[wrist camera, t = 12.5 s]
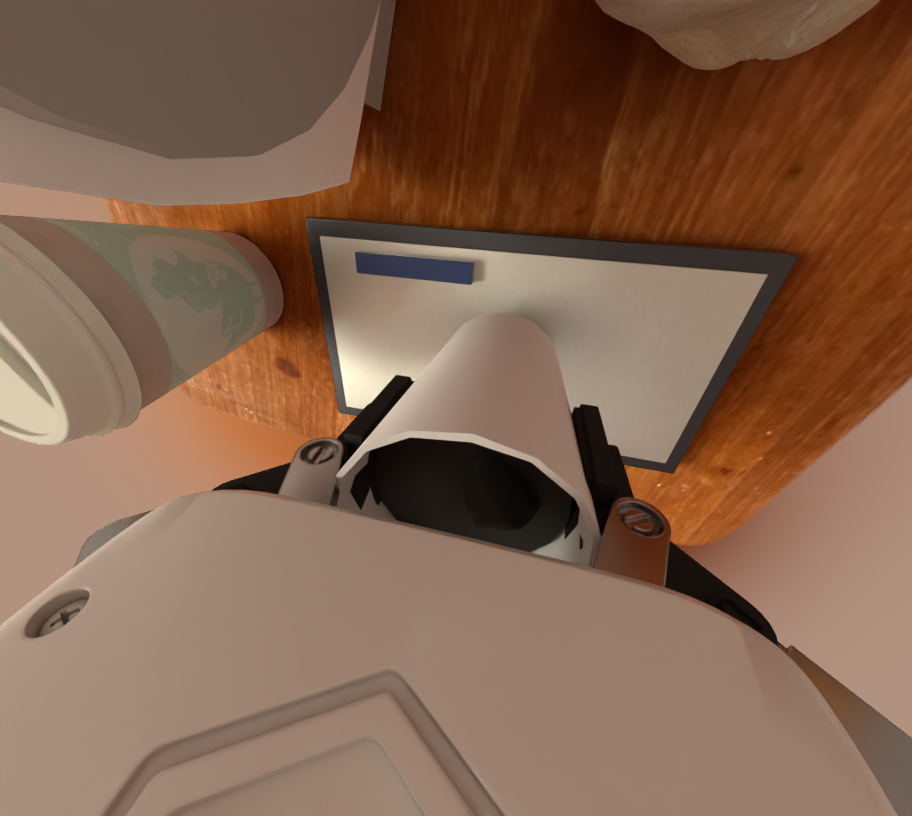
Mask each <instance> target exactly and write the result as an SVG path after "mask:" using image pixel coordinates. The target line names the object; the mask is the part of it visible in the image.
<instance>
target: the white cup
mask: <svg viewBox="0 0 912 816" xmlns="http://www.w3.org/2000/svg"><path fill="white" fill-rule="evenodd" d="M376 448H378V451H377V456H376V461H375V465H374V470H375V478H376V486H377V489H378V492H379V496H380V499H381V502H380V504H379V506H378V505H377V504H376V503H375V501H374V497H373V494H372V491H371V488H370V490H369V492H368V495H367V497H366V500H365V502H364V505H363V507H362V509H361V510H360V508H359V507H358V505H357V503H356V502H355V500H354V498H353V497H352V495H351V493H350V490H351V487H352V484H353V481H354V478H355V475H356V474H357V473H358V472H359V471H360V470H361V469H362V468H363V467H364V466H365V465H366V464H367V461H368V457H369V452H370V450H372V449H376ZM336 477H337V480H338V484H339V489H340V494H339V498H338V502H337V507H340V508H344V509H349V510H353V511H357V512H362V513H366V514H370V515H375V516H379V517H384V518H388V519H392V520H397V521H401V522H405V523H409V524H414V525H418V526H422V527H426V528H431V529H435V530H439V531H443V532H448V533H452V534H456V535H460V536H464V537H469V538H473V539H477V540H481V541H486V542H490V543H494V544H498V545H502V546H506V547H511V548H515V549H519V550H523V551H527V552H531V553H535V554H539V555H544V556H548V557H552V558H556V559H560V560H564V561H568V562H573V563H577V564H580V565H584V566H588V567H590V565H591V562H592V559H593V556H594V553H595V550H596V547H597V545H598V543H599V541H600V539H601V533H600V529H599V525H598V521H597V517H596V513H595V509H594V504H593V500H592V496H591V492H590V490H589V487H588V485H587V482H586V479H585V474H584V469H583V465H582V460H581V455H580V451H579V446H578V441H577V437H576V432H575V427H574V423H573V418H572V414H571V410H570V406H569V402H568V398H567V394H566V390H565V386H564V381H563V377H562V373H561V369H560V365H559V361H558V357H557V355H556V352H555V350H554V347H553V345H552V342H551V340H550V338H549V337H548V336H547V335H546V334H545V333H544V332H543V331H542V330H541V329H540V328H539V327H538V326H537V325H536V324H535V323H534V322H533V321H530V320H528V319H525V318H522V317H519V316H517V315H514V314H511V313H491V314H483V315H481V316H479V317H477V318H475V319H473V320H470V321H468V322H466V323H464V324H463V325H462V326H461V327H460V328H459V330H458V331H457V332H456V333H455V334H454V335H453V336H452V338H451V339H450V340H449V341H448V343H447V344H446V345H445V346H444V347H443V348H442V350H441V351H440V352H439V353H438V354H437V356H436V357H435V358H434V359H433V360H432V362H431V363H430V364H429V365H428V366H427V367H426V369H425V370H424V371H423V372H422V373H421V375H420V376H419V377H418V378H417V379H416V381H415V382H414V383H413V384H412V385H411V387H410V388H409V389H408V390H407V391H406V393H405V394H404V395H403V396H402V397H401V399H400V400H399V401H398V402H397V403H396V404H395V406H394V407H393V408H392V409H391V410H390V412H389V413H388V414H387V415H386V416H385V418H384V419H383V420H382V421H381V422H380V423H379V425H378V426H377V427H376V428H375V429H374V431H373V432H372V433H371V434H370V435H369V436H368V438H367V439H366V440H365V441H364V442H363V444H362V445H361V446H360V447H359V448H358V450H357V451H356V452H355V453H354V454H353V455H352V457H351V458H350V459H349V460H348V461H347V463H346V464H345V465H344V466H343V467H342V469H341V470H340V471H339V472H338V473H337V474H336ZM572 497H573V498H575V500H576V502H577V504H578V506H579V508H580V513H579V520H578V525H577V526H576V527H575V528H574V530H573V531H572V532H571V533H570V534H569V535H568V537H567V538H566V539H565V525H566V524H567V522H568V521H569V518H570V510H571V502H572ZM580 535H581V537H582V540H583V548H582V549H580Z"/></svg>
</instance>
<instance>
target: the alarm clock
mask: <svg viewBox="0 0 912 816" xmlns="http://www.w3.org/2000/svg"><path fill="white" fill-rule="evenodd" d="M395 4H396V0H0V182H6V183H13V184H19V185H26V186H32V187H39V188H45V189H51V190H58V191H64V192H71V193H77V194H83V195H90V196H96V197H103V198H109V199H116V200H122V201H129V202H135V203H141V204H148V205H154V206H176V205H210V204H239V203H247V202H255V201H263V200H271V199H279V198H287V197H295V196H303V195H306V194H310V193H313V192H317V191H321V190H324V189H328V188H331V187H335V186H339V185H342V184H346V183H349V181H350V175H351V170H352V165H353V160H354V155H355V149H356V144H357V139H358V134H359V129H360V123H361V117H362V111H363V105H367V106H369V107H371V108H374V109H376V110H379V111H380V109H381V102H382V95H383V88H384V81H385V74H386V67H387V60H388V53H389V46H390V39H391V32H392V25H393V18H394V11H395Z"/></svg>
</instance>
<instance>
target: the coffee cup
mask: <svg viewBox="0 0 912 816" xmlns="http://www.w3.org/2000/svg"><path fill="white" fill-rule="evenodd" d="M283 306H284V296H283V290H282V285H281V282H280V279H279V277H278V275H277V273H276V271H275V269H274V267H273V265H272V264H271V262H270V261H269V260H268V258H267V257H266V256H265V255H264V253H263V252H262V251H261V250H260V249H259V248H258V247H257V246H255V245H254V244H253V243H252V242H250V241H249V240H247V239H246V238H244V237H242V236H240V235H237V234H234V233H231V232H221V231H209V230H197V229H184V228H171V227H157V226H144V225H130V224H117V223H104V222H90V221H77V220H62V219H49V218H36V217H22V216H8V215H0V431H2V432H4V433H6V434H9V435H11V436H14V437H16V438H18V439H21V440H25V441H27V442H31V443H35V444H41V445H55V444H59V443H63V442H67V441H71V440H74V439H78V438H81V437H85V436H100V435H105V434H107V433H110V432H111V431H113V430H114V429H121V428H125V427H127V426H129V425H131V424H132V423H133V422H134V421H135V420H136V419H137V417H138V416H139V413H140V410H141V409H142V408H144V407H146V406H147V405H149V404H151V403H152V402H154V401H155V400H157V399H159V398H160V397H162V396H163V395H165V394H166V393H168V392H170V391H171V390H173V389H174V388H176V387H177V386H179V385H181V384H182V383H184V382H185V381H187V380H188V379H190V378H191V377H193V376H195V375H196V374H198V373H199V372H201V371H202V370H204V369H206V368H207V367H209V366H210V365H212V364H213V363H215V362H216V361H218V360H220V359H221V358H223V357H224V356H226V355H227V354H229V353H230V352H232V351H234V350H235V349H237V348H238V347H240V346H241V345H243V344H245V343H246V342H248V341H249V340H251V339H252V338H254V337H255V336H257V335H258V334H260V333H261V332H263V331H265V330H266V329H268V328H269V327H271V326H272V325H274V324H275V323H276V322H277V321H278V320H279V318H280V316H281V314H282V311H283Z"/></svg>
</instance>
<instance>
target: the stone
mask: <svg viewBox="0 0 912 816" xmlns="http://www.w3.org/2000/svg"><path fill="white" fill-rule="evenodd" d="M880 1H881V0H595V2H596V3H597V4H598V6H599V7H600V8H601V9H602V11H603V12H604V13H606V14H608V15H610V16H611V17H613V18H615V19H617V20H618V21H621V22H623V23H625V24H627V25H630V26H632V27H635V28H637V29H639V30H641V31H643V32H644V33H646V34H648V35H650V36H651V37H652V38H653V39H654V40H655V41H656V42H657V43H658V44H659V45H660V47H662V48H663V49H665V50H666V51H668V52H669V53H670V54H672V55H673V56H675V57H676V58H678V59H679V60H680V61H682V62H683V63H685V64H687V65H689V66H690V67H692V68H695V69H702V70H717V69H723V68H726V67H729V66H732V65H734V64H735V63H737V62H738V61H747V60H751V59H755V58H756V59H758V60H763V59H767V58H769V59H771V60H780V59H785V58H788V57H791V56H794V55H797V54H800V53H802V52H805V51H807V50H809V49H811V48H813V47H815V46H817V45H819V44H821V43H823V42H824V41H826V40H827V39H829V38H831V37H832V36H834V35H835V34H837V33H839V32H840V31H841V30H843V29H844V28H845V27H847V26H848V25H849V24H851V23H852V22H854V21H855V20H856V19H858V18H859V17H861V16H862V15H864V14H865V13H866V12H868V11H869V10H870V9H871V8H873V7H874V6H875V5H876V4H877V3H878V2H880Z"/></svg>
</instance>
